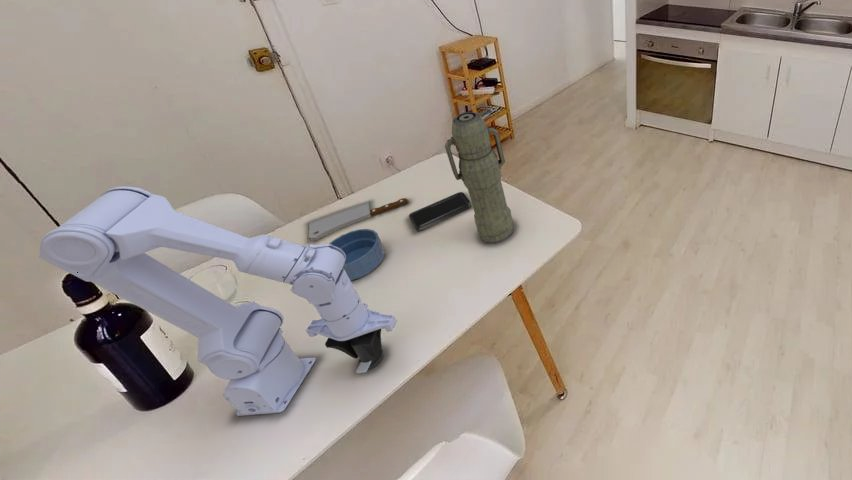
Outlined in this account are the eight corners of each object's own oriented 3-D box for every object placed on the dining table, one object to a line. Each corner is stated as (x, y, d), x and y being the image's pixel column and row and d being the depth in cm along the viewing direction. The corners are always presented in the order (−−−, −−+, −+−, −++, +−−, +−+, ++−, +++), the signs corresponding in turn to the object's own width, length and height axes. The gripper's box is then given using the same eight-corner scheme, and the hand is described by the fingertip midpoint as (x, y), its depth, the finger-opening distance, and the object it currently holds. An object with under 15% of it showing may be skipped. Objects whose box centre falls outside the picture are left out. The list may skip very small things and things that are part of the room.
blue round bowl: (370, 281, 95) (362, 265, 92) (317, 285, 95) (307, 268, 92) (394, 243, 106) (387, 227, 103) (347, 246, 105) (338, 230, 102)
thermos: (525, 229, 109) (499, 115, 91) (481, 252, 102) (445, 133, 85) (511, 212, 115) (484, 102, 97) (469, 232, 108) (433, 118, 91)
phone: (471, 203, 116) (415, 229, 108) (472, 206, 117) (416, 232, 109) (461, 190, 122) (407, 214, 113) (462, 193, 122) (409, 217, 114)
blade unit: (374, 376, 76) (361, 354, 73) (352, 377, 76) (338, 355, 73) (390, 343, 82) (379, 321, 78) (370, 344, 82) (357, 322, 78)
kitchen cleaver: (404, 187, 124) (408, 204, 117) (405, 190, 125) (409, 206, 117) (308, 220, 113) (305, 240, 106) (309, 223, 114) (307, 243, 106)
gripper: (393, 284, 75) (415, 330, 82) (312, 290, 74) (341, 335, 81) (374, 319, 69) (399, 365, 75) (285, 325, 68) (319, 371, 75)
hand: (368, 352), depth 78 cm, fingers closed on blade unit, 3 cm apart
